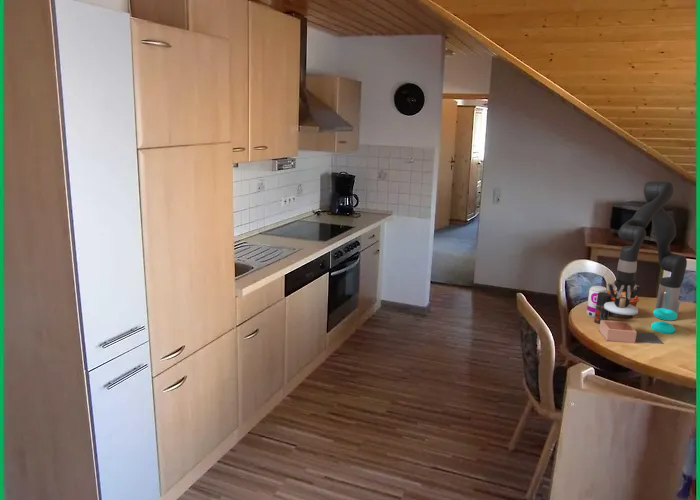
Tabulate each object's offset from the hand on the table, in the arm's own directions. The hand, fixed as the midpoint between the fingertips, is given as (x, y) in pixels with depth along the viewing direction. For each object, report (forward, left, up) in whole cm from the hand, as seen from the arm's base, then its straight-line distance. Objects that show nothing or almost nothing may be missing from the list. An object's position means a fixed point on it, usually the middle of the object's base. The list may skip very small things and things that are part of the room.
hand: (621, 306), depth 248 cm
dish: (0, 0, -16) cm, 16 cm away
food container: (-11, -33, -16) cm, 38 cm away
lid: (0, 0, -2) cm, 2 cm away
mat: (-13, -2, -16) cm, 20 cm away
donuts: (-25, -14, -16) cm, 33 cm away
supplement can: (+2, -28, -16) cm, 32 cm away
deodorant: (+2, -18, -16) cm, 24 cm away
